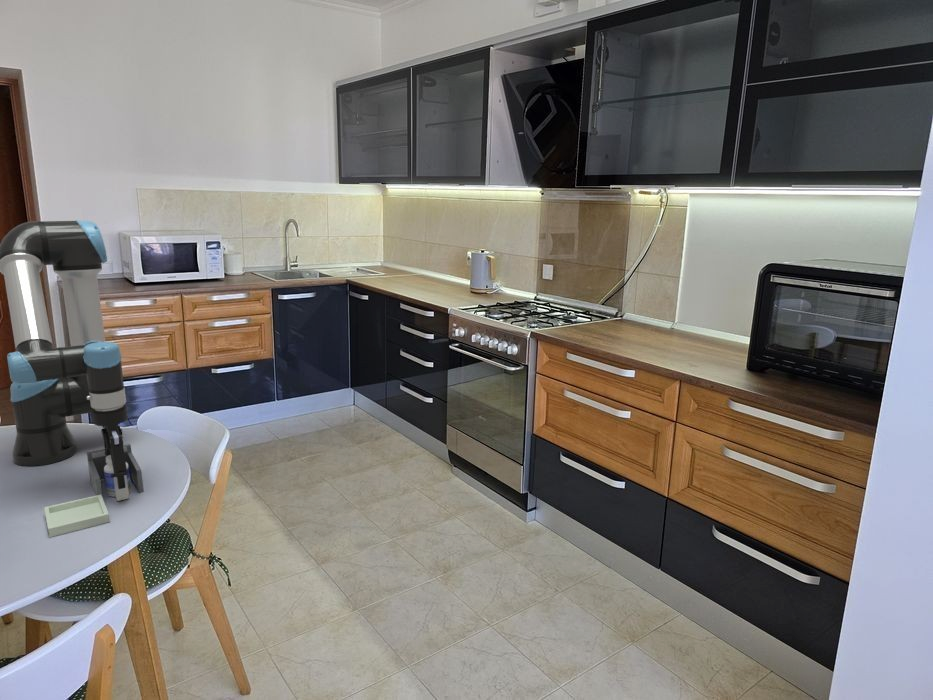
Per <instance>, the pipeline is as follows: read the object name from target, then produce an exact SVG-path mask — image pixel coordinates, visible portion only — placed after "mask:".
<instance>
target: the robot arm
mask: <svg viewBox="0 0 933 700" xmlns="http://www.w3.org/2000/svg"><path fill="white" fill-rule="evenodd" d="M107 262H108V256H107V250H106V247H105V242H104V239H103V237H102V233H101V230H100V228H99V226H98V225H97V224H96V223H95V222H93V221H88V220H87V221H86V220H54V221H52V220H49V221H48V220H47V221H46V220H44V221H38V220H31V221H27V222H23V223H20V224H18V225H16V226H15V227H13V228H12V229H11V230H9V231H8V233H7V234H5V235H4V237H3V238H2V240H1V242H0V273H1V275H3V278H4V283H5V291H6V295H7V296H6V297H7V302H8V308H9V309H8V310H9V315H10V316H9V317H10V322H11V328H12V335H13V340H14V341H13V342H14V347H15V351H14V352H9V353H7V355H6V357H7V358H6V359H7V365H8V372H9V377H10V381H11V382H12V383H11V384H10V386H9V387H10V388H9V389H10V402H11V403H12V410H13V417H14V423H15V428H16V436H15V440H14V445H13V450H12V459H13V462H14V464H16V465H19V466H25V467H34V466H35V467H36V466H44V465H49V464H54V463H57V462H61V461H63V460H65V459H69V458H70V457H72V456H74V455H75V454H76V453H77V451H78V446H77V441H76V439H75V438H74V436H73V434H72V433H71V432H72V431H70V429H69V427H68V425H67V421H66V417H72V416H79V415H85V414H91V420H92V424H93V425H95V426H97V427H102V428H101V434H102V439H103V444H104V445H103V446H104V449H105V455H106V457H107V456H108V455H111V460H112V465H113V471H114V475H111V478H114V486H115V494H116V497H115V500H116V502H121V501H122V500H123V501H124V500H128V499H130V494H129V493H130V492H128V484H127V476H126V475H127V473H128V472H127V468H126V462H125V455H124V449H123V445H124V441H123V438H124V437H123V430H122V429H123V428H121V426H120V424H123V423H125V422H126V421H127V420H128V418H129V417H128V416H129V415H128V407H127V404H126V403H127V396H126V388H125V384H124V376H123V366H122V364H123V363H122V359H123V358H122V354H121V350H120V349H121V348H120V346H119V344H118V343H116V342H113V341H106V335H105V327H104V321H103V320H104V319H103V313H102V305H101V299H100V298H101V297H100V291H99V283H98V274H100V272H101V271H102V270H103V266H102V265H103V264H104V263H107ZM43 266H52V268H53V269H52V270H53V273H55V274H56V275H57V276H59V277H60V278H61V279H60V280H61V286H62V292H63V300H64V307H65V313H66V320H67V322H66V323H67V328H68V334H69V335H68V336H69V344H70V346H61V347H54V346H53V345H54V344H53V339H52V335H51V334H52V333H51V329H50V328H51V327H50V323H49V318H48V312H47V307H46V302H45V296H44V292H43V291H44V290H43V287H42V285H43V284H42V280H41V275H40V273H41V271H42V270H43Z"/></svg>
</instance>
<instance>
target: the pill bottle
mask: <svg viewBox="0 0 933 700" xmlns="http://www.w3.org/2000/svg"><path fill="white" fill-rule="evenodd" d="M106 463H107V465H106V466H105V467H104V475H105V479H104V481H105V482H104V483H105V491H106V494H107V496H109V497H115V498H116V494H115V486H114V478H111V475H114V471H113V465H112V460H111V455H108V456H107V457H106ZM126 468H127V472H128V473H127V475H126V476H127V484H128V492H129V493H130V492H131V491H132V485H131V478H130V477H131V475H130V474H129V466H128V463H127V462H126Z"/></svg>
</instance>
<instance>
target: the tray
mask: <svg viewBox="0 0 933 700" xmlns="http://www.w3.org/2000/svg"><path fill="white" fill-rule="evenodd" d="M102 497H103V494H102V495H101V494H100V495H92V496H88V497H83V498H79V499H75V500H70V501H67V502H66V501H65V502H62V503H57V504H53V505H50V506H49V505H48V506H44V507H43V509H44V516H45V521H46V526H47V531H48V536H49V538H52V537H55V536H60V535H64V534H68V533H72V532H75V531H79V530H83V529H88V528H92V527H95V526H100V525H104V524H107V523H110V522H111V521H110V515H109V511H108V509H107V506H106V503H105V501H104V498H102Z"/></svg>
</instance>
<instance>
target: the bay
mask: <svg viewBox="0 0 933 700" xmlns="http://www.w3.org/2000/svg"><path fill="white" fill-rule="evenodd" d="M123 449H124V455H125V462H127V463H128V466H129V475H130V477H131V479H132V481H133V484H134V485H135V487H136V489H137V491H138V493H143V492H145V491H144V484H143V481H144V480H143V473H142V469H141V467H140V465H139V463H138V461H137V459H136V458H135V456H134V454H133V451H132V445H131V443H128V444H127V443H126V444H123ZM86 456H87V465H88V466H87V467H88V471H89V478H90V484H91V486H92V489H93V491H94V494H95V495H94V496H96V495H100V494H101V495H102V498H103V491H102V484H101V483H102V482H101V481H103V480H104V481H105V475H104V467H105V466H106V465H107V463H106V455H105V448H102V449H97V450H91V451H87V452H86ZM103 499H104V498H103Z"/></svg>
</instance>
